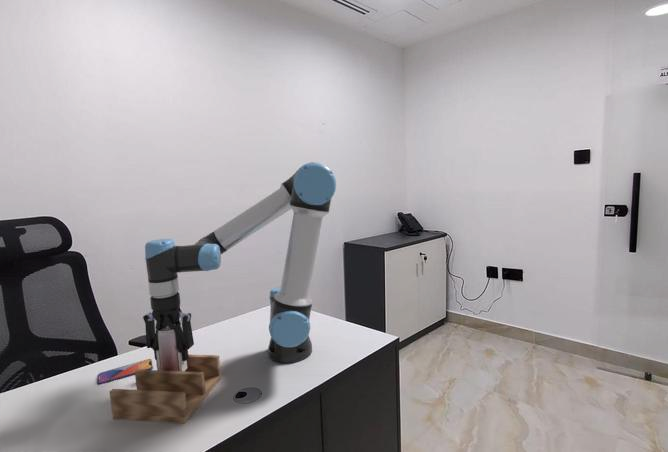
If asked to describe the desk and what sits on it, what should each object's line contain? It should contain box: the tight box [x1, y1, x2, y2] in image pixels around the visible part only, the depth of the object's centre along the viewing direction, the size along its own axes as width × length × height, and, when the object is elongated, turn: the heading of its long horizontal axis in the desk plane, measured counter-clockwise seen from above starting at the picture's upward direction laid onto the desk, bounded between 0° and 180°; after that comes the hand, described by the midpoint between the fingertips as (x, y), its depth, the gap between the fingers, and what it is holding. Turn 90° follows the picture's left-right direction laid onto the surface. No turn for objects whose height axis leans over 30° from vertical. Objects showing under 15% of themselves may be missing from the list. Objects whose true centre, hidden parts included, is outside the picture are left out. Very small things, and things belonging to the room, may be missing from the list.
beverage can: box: [157, 326, 180, 371], centre depth 101 cm, size 6×6×15 cm
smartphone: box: [97, 358, 154, 386], centre depth 112 cm, size 7×15×1 cm, turn 122°
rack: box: [109, 354, 222, 424], centre depth 97 cm, size 20×20×8 cm
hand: (173, 370), depth 102 cm, fingers closed on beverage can, 6 cm apart
